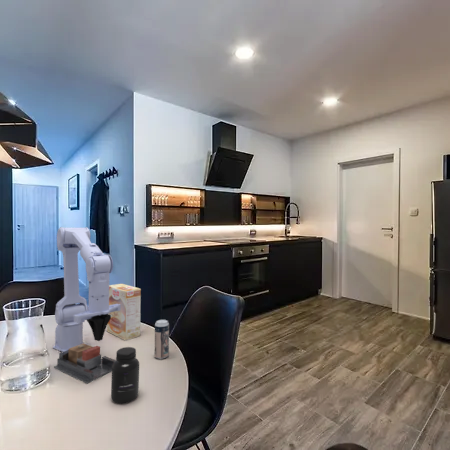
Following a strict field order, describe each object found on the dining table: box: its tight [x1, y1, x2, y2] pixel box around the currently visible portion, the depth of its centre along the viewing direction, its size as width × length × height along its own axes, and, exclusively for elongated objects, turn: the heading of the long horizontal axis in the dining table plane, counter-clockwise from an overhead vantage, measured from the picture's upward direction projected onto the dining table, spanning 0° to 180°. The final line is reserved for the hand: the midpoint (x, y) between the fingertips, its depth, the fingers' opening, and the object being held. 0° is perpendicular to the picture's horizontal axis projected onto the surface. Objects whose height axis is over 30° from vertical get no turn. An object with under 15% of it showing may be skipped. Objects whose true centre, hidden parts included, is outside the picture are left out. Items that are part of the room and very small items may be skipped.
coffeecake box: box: [106, 283, 142, 341], centre depth 117 cm, size 15×7×20 cm, turn 49°
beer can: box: [153, 319, 170, 360], centre depth 96 cm, size 5×5×12 cm
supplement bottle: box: [110, 346, 140, 405], centre depth 73 cm, size 7×7×12 cm
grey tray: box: [53, 350, 116, 384], centre depth 88 cm, size 17×11×4 cm, turn 59°
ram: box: [77, 345, 102, 369], centre depth 88 cm, size 4×6×6 cm
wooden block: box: [68, 342, 93, 364], centre depth 90 cm, size 5×5×6 cm
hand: (98, 339), depth 86 cm, fingers closed
